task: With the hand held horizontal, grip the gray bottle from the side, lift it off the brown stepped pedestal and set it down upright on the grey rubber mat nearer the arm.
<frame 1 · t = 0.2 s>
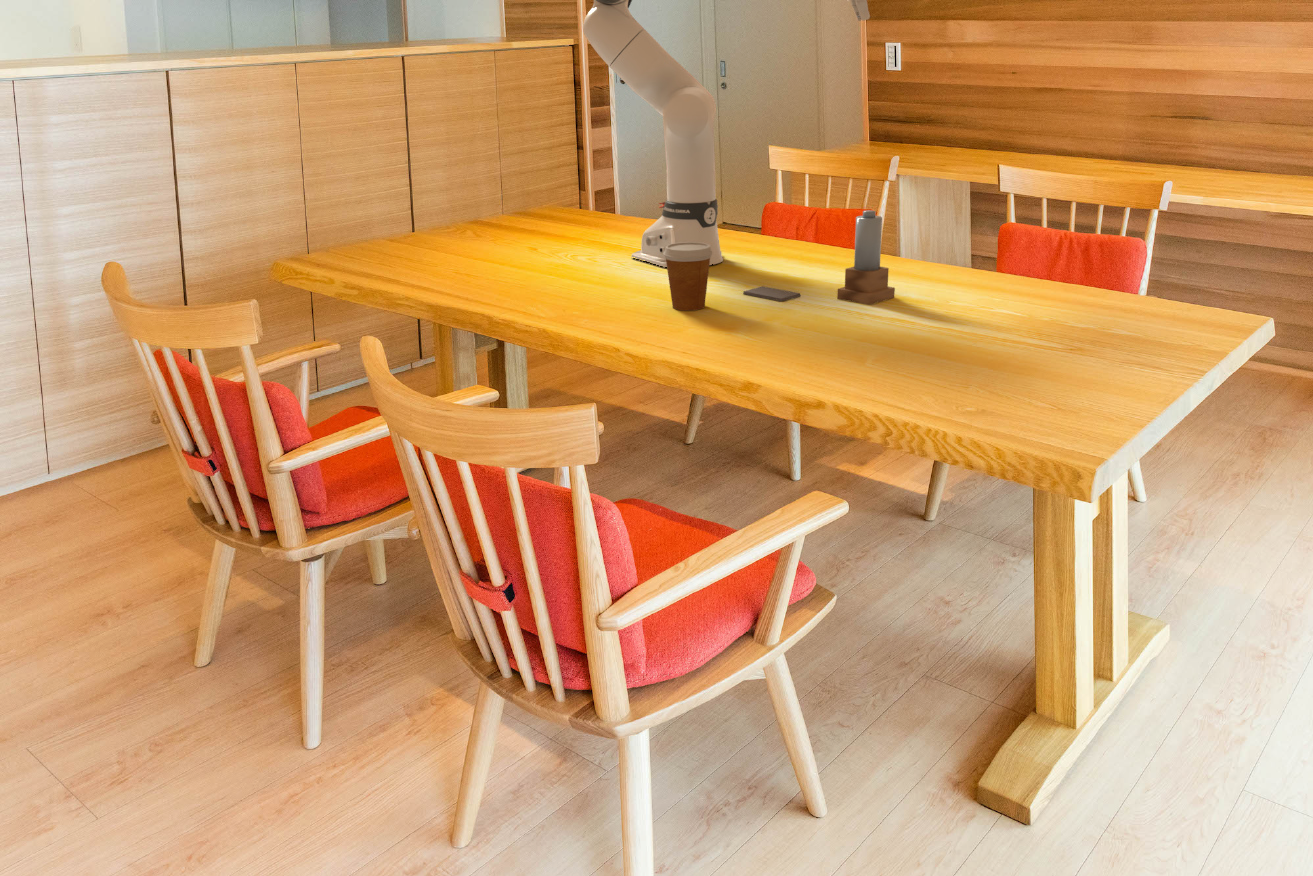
hand: (864, 19, 242), 52 cm above the table, tool tilted 20°, fingers open, 8 cm apart
gray bottle: (867, 268, 224), point 6 cm above the table, touching brown stepped pedestal
mat: (771, 295, 231), on the table
brown stepped pedestal: (865, 298, 227), on the table
disposable coffee cup: (688, 308, 223), on the table
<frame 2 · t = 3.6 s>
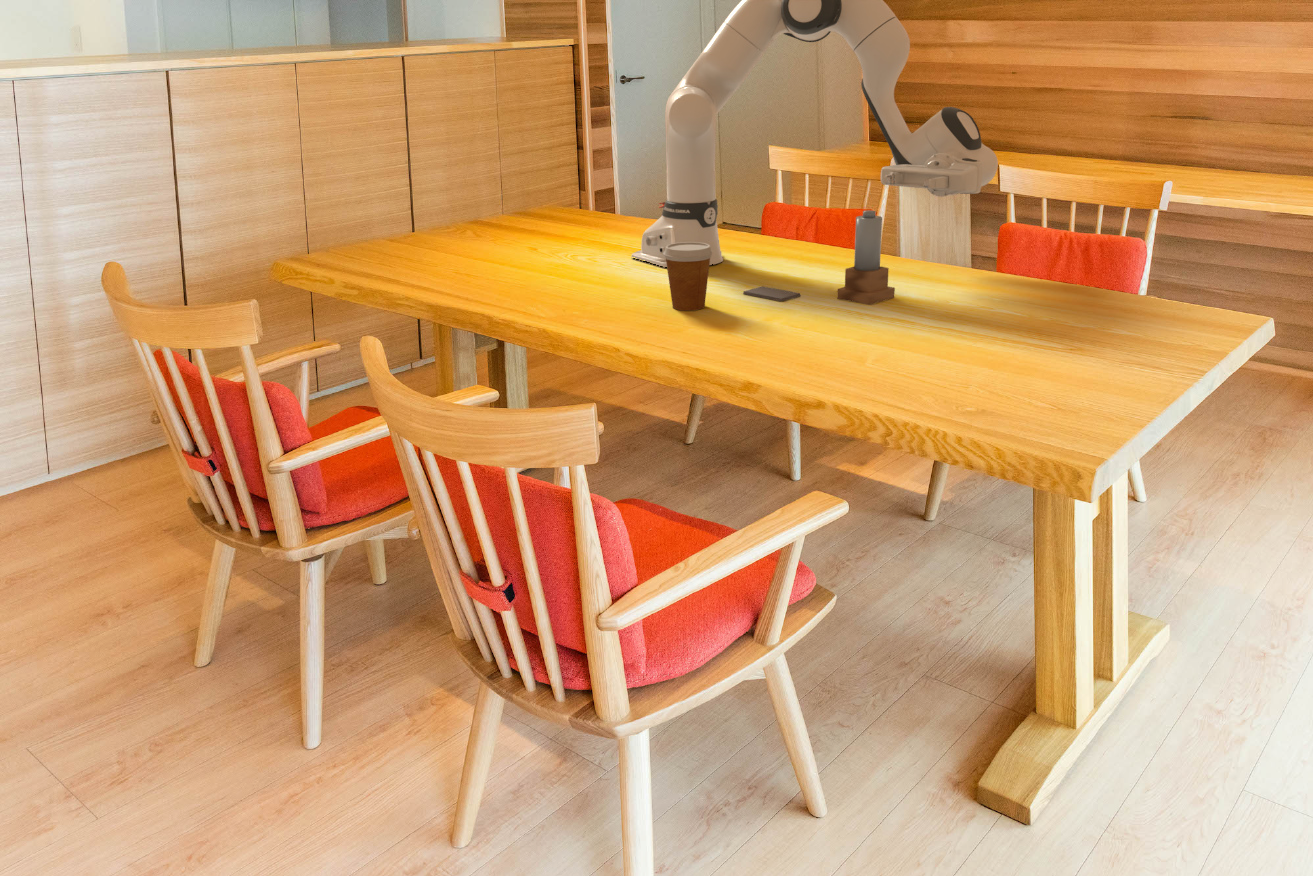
hand: (906, 182, 227), 21 cm above the table, tool horizontal, fingers open, 8 cm apart
nothing on the table moved.
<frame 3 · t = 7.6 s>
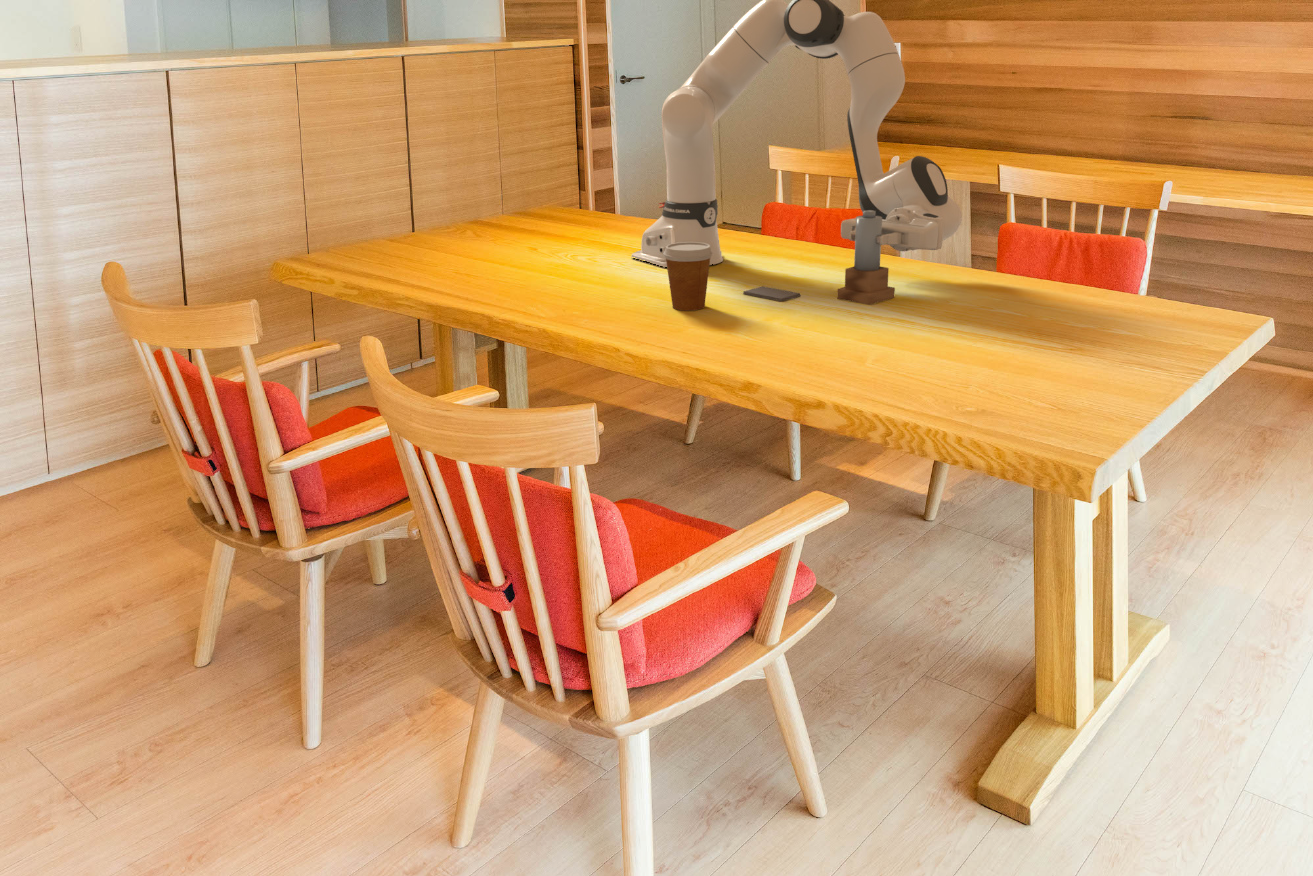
hand: (865, 238, 222), 12 cm above the table, tool horizontal, fingers closed on gray bottle, 5 cm apart
gray bottle: (867, 268, 224), point 6 cm above the table, touching gripper, brown stepped pedestal
everything else where it was.
when the fingers open (8 cm above the table, at t = 12.9 s): gray bottle drops 2 cm, resting on mat.
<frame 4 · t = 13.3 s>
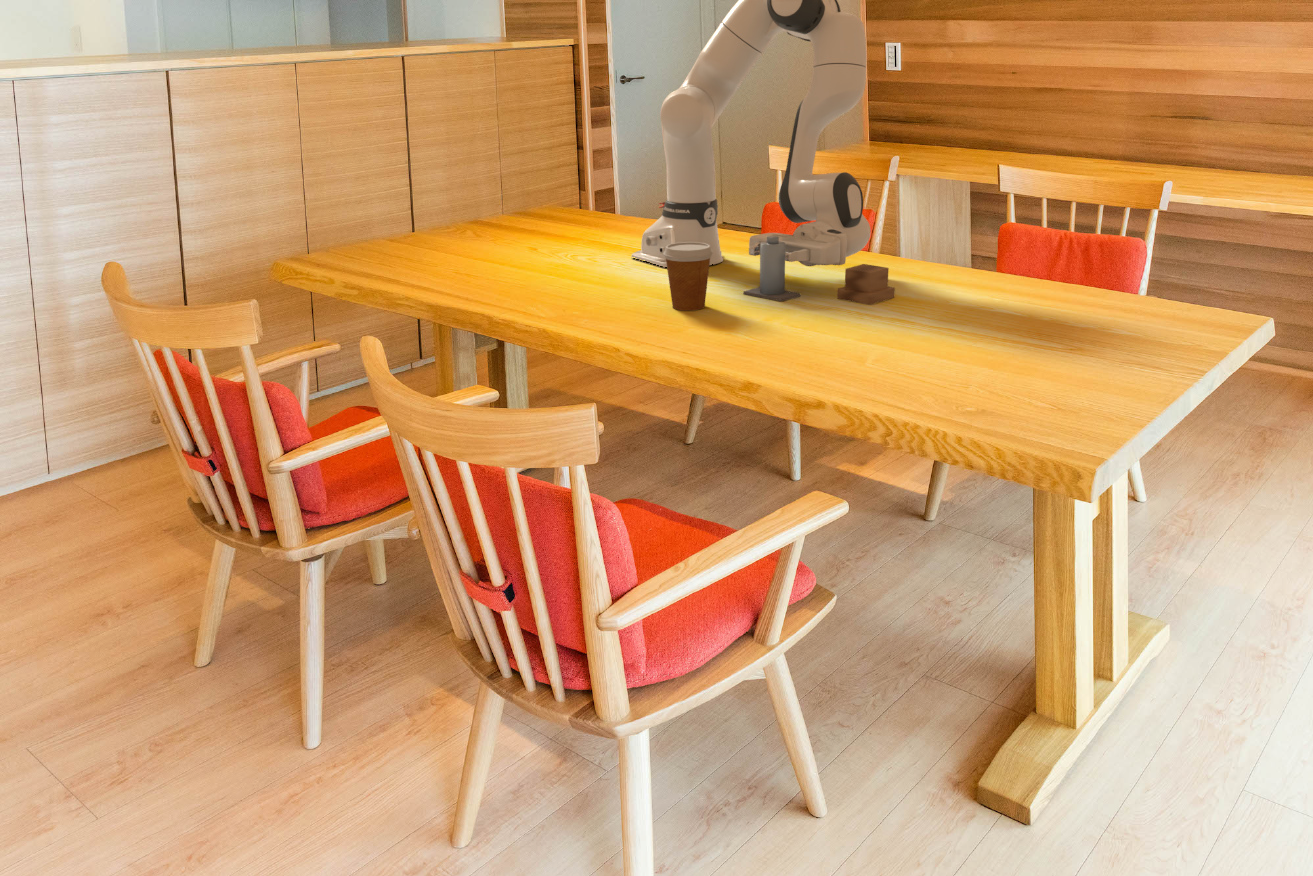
hand: (769, 254, 227), 8 cm above the table, tool horizontal, fingers open, 8 cm apart
gray bottle: (772, 292, 231), point 1 cm above the table, touching mat
everything else where it was.
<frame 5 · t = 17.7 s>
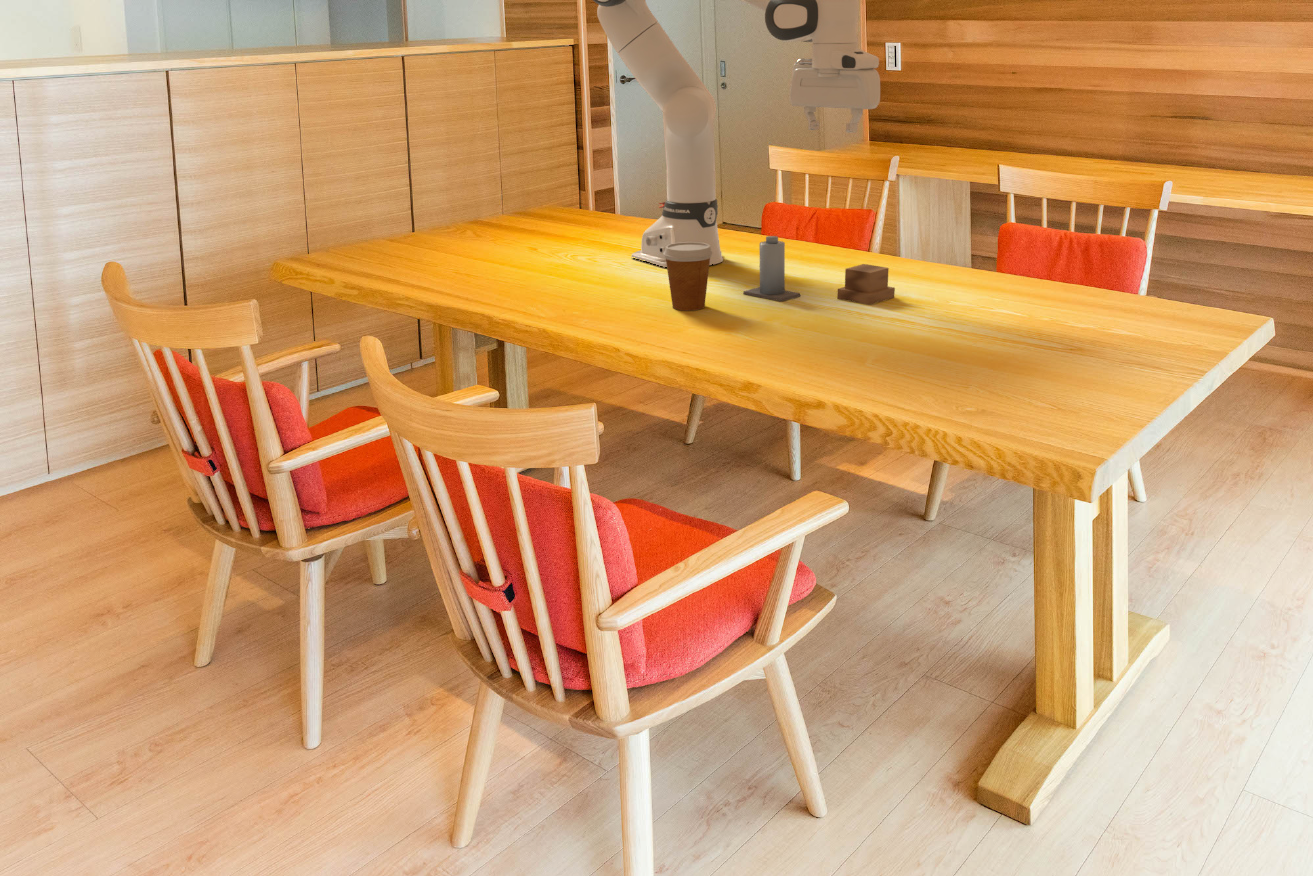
hand: (832, 131, 229), 31 cm above the table, tool pointing down, fingers open, 8 cm apart
nothing on the table moved.
at the end: gray bottle inside the target area on the mat (0.1 cm from its centre), point 0.6 cm above the mat's base; gray bottle tilted 1°; the gripper is holding nothing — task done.
